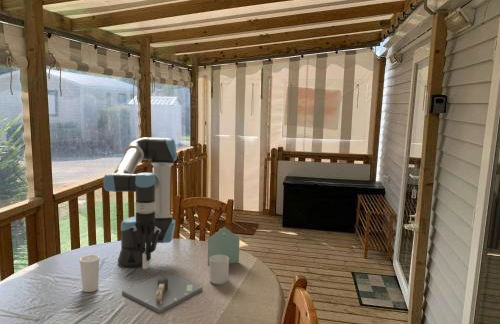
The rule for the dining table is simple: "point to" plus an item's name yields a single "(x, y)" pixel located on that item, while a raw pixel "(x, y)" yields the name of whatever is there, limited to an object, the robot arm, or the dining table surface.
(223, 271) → the mug
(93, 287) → the cup
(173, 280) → the dial board
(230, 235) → the teal house-shaped block
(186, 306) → the dining table surface
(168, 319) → the dining table surface
